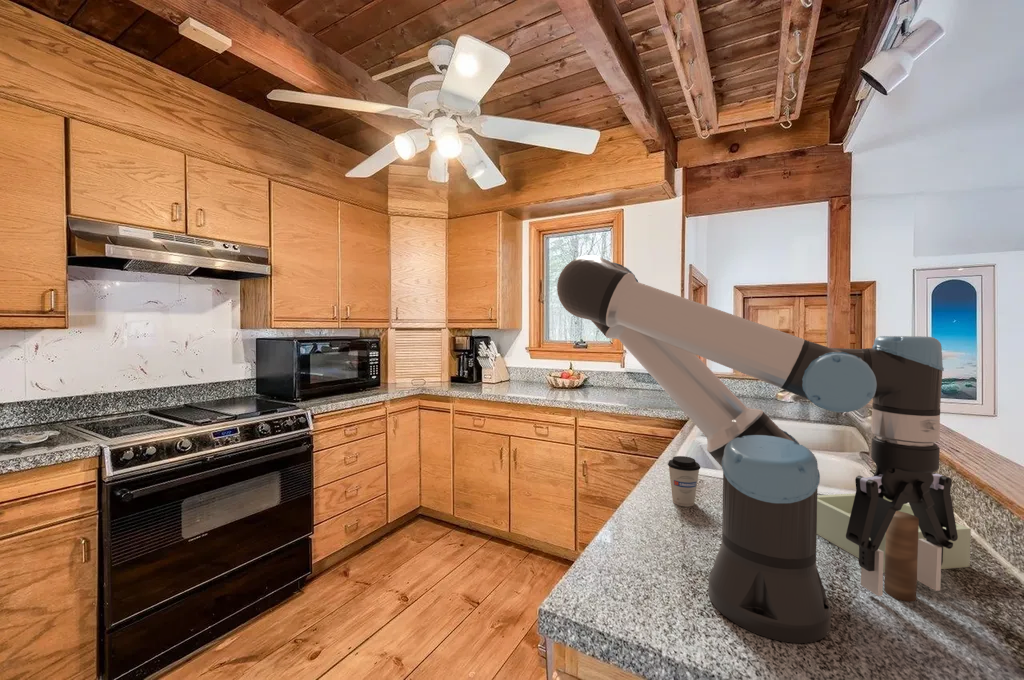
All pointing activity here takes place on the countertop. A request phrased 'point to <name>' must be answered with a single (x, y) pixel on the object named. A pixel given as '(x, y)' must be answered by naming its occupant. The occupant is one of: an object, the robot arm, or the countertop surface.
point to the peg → (901, 557)
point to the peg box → (836, 519)
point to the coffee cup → (683, 480)
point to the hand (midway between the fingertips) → (900, 587)
